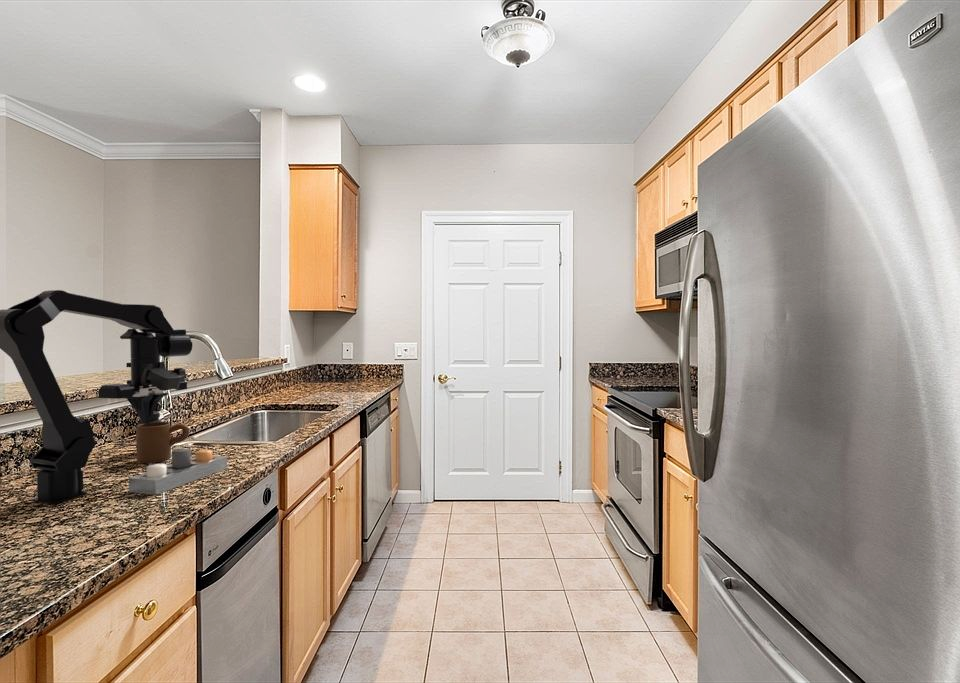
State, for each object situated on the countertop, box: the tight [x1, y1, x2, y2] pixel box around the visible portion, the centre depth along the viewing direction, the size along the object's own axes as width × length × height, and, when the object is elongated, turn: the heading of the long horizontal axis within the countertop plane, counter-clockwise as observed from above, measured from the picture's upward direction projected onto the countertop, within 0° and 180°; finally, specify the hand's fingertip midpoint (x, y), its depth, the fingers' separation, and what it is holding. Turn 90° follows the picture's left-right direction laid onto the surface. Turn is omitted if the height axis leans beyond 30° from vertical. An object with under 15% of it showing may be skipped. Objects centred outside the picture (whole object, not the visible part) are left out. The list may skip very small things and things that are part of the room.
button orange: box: [194, 449, 213, 462], centre depth 119 cm, size 4×4×4 cm
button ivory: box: [146, 463, 168, 478], centre depth 107 cm, size 4×4×4 cm
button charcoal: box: [171, 448, 192, 470], centre depth 113 cm, size 4×4×4 cm
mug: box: [135, 421, 190, 464], centre depth 131 cm, size 12×8×9 cm, turn 112°
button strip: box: [128, 454, 228, 496], centre depth 113 cm, size 20×7×3 cm, turn 166°
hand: (146, 423), depth 117 cm, fingers closed
